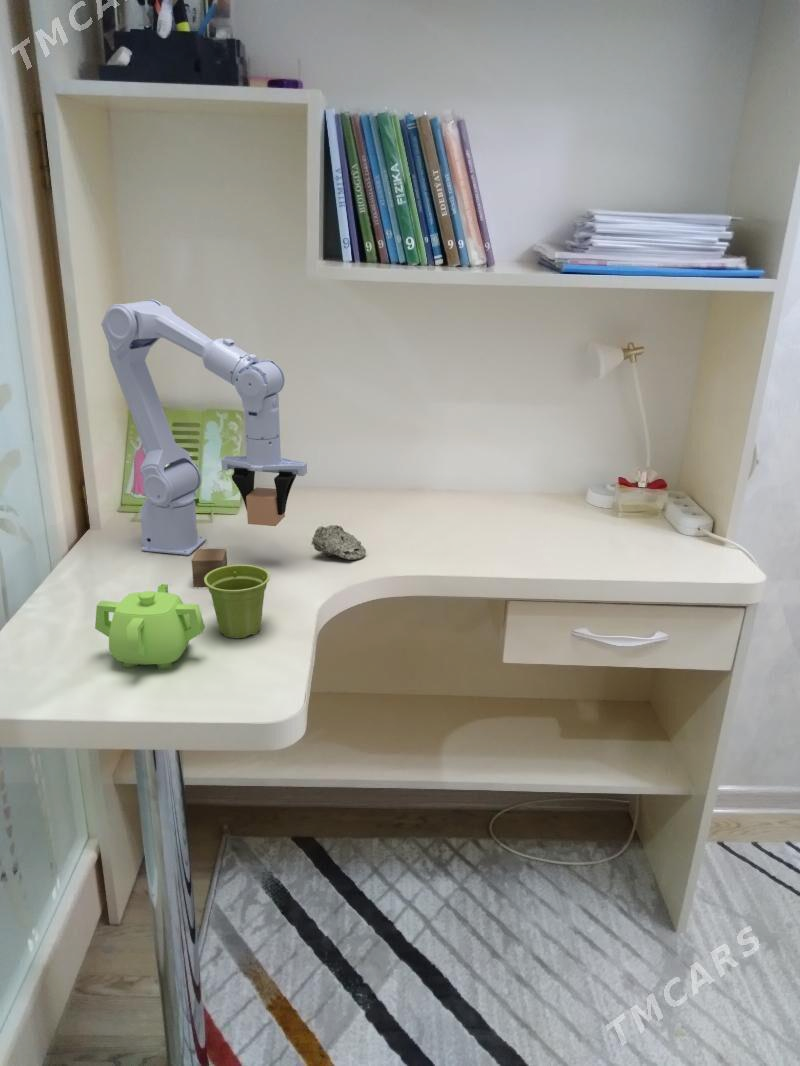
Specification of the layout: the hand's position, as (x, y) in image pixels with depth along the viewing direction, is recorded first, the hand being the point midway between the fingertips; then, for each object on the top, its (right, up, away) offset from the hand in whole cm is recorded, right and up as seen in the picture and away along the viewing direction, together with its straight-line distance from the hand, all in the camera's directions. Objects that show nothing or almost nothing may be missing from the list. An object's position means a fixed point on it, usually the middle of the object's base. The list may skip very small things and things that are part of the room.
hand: (266, 511), depth 143 cm
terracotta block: (0, -1, +1) cm, 2 cm away
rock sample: (+13, -8, +9) cm, 17 cm away
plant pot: (-1, -18, -19) cm, 26 cm away
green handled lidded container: (-12, -21, -26) cm, 36 cm away
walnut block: (-9, -12, -3) cm, 15 cm away
